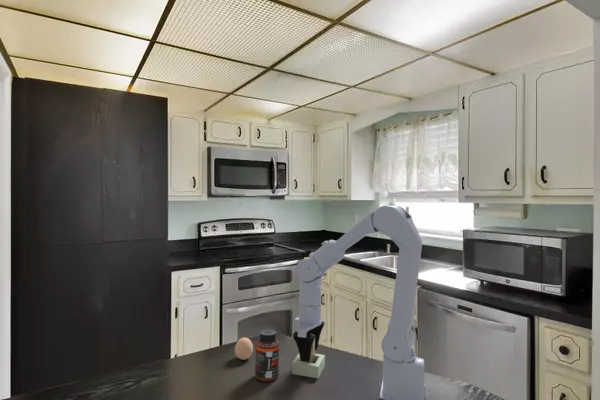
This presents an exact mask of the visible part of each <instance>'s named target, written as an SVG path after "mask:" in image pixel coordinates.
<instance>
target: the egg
mask: <svg viewBox="0 0 600 400" xmlns="http://www.w3.org/2000/svg"><path fill="white" fill-rule="evenodd" d="M234 353H235V356H236V357H237V359H239V360H242V361H243V360H244V361H245V360H248V359H249V358H250V357H251V356H252V355H253V353H254V344H253V343H252V341H251V339H249V338H248V337H241V338H239V340H237V342H236V344H235V346H234Z"/></svg>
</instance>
